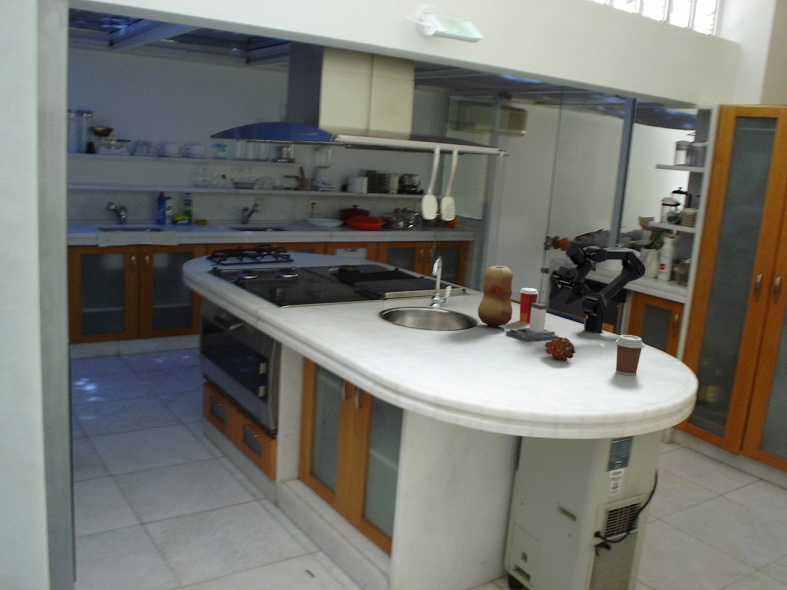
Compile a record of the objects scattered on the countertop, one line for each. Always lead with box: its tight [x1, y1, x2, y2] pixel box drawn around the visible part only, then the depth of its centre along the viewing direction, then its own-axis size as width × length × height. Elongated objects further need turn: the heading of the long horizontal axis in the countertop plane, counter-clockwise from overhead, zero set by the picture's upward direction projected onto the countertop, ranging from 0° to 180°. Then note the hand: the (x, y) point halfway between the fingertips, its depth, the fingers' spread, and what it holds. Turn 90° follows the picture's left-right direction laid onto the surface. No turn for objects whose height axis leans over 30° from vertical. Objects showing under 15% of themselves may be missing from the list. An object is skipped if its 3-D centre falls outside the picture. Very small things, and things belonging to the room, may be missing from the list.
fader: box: [526, 302, 548, 333], centre depth 282 cm, size 6×5×12 cm
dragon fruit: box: [544, 336, 576, 362], centre depth 252 cm, size 8×8×12 cm
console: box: [505, 327, 559, 343], centre depth 282 cm, size 16×12×2 cm
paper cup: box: [519, 287, 539, 324], centre depth 308 cm, size 8×8×14 cm
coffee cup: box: [615, 334, 645, 376], centre depth 240 cm, size 9×9×12 cm
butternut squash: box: [477, 265, 514, 328], centre depth 293 cm, size 14×13×25 cm
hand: (557, 301), depth 287 cm, fingers open, 9 cm apart
